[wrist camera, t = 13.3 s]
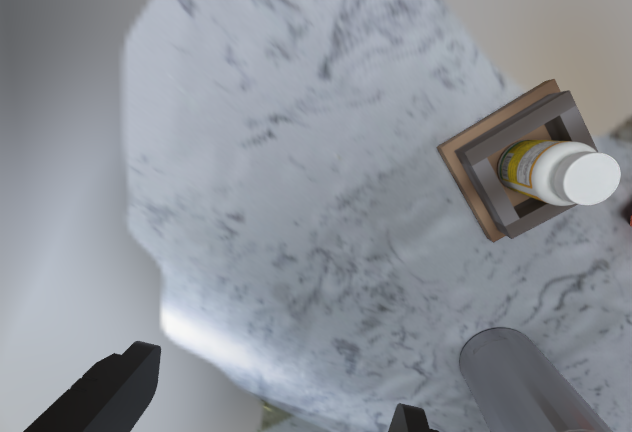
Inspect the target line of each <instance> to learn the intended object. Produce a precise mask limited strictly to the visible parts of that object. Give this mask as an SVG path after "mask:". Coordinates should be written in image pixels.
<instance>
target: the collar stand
mask: <svg viewBox="0 0 632 432" xmlns="http://www.w3.org/2000/svg"><path fill="white" fill-rule="evenodd" d="M522 140H551V141H572V142H580V143H583V144H586V145H588V146H590V147H592V148H593V149H594V150H595V151H596V152H598V151H597V149H596V146H595V144H594V142H593V140H592V138H591V136H590V134H589V131H588V129H587V127H586V125H585V123H584V121H583V119H582V116H581V114H580V112H579V110H578V108H577V106H576V104H575V101H574V99H573V97H572V95H571V93H570V91H563V92H560V89H559V87H558V85H557V83H556V81H555V79H552V80H548V81H545V82H543V83H541V84H540V85H538V86H536V87H535V88H533V89H531V90H530V91H528V92H527V93H525V94H523V95H522V96H520V97H518V98H517V99H515V100H513V101H512V102H510V103H508V104H507V105H505V106H504V107H502V108H500V109H499V110H497V111H495V112H494V113H492V114H490V115H489V116H487V117H485V118H484V119H482V120H480V121H479V122H477V123H476V124H474V125H472V126H471V127H469V128H467V129H466V130H464V131H462V132H461V133H459V134H457V135H456V136H454V137H453V138H451V139H449V140H448V141H446V142H444V143H443V144H441V145H439V146H438V147H437V149H438V151H439V153H440V154H441V156H442V158H443V160H444V161H445V163H446V165H447V167H448V169H449V170H450V172H451V174H452V176H453V178H454V179H455V181H456V183H457V185H458V186H459V188H460V190H461V192H462V194H463V195H464V197H465V199H466V201H467V202H468V204H469V206H470V208H471V210H472V211H473V213H474V215H475V217H476V219H477V220H478V222H479V224H480V226H481V227H482V229H483V231H484V233H485V235H486V236H487V238H488V239H489V240H491V241H492V242H495V241H497V240H499V239H501V238H503V237H504V236H508V237H509V238H511V239H513V238H514V237H516V236H518V235H520V234H522V233H524V232H526V231H528V230H530V229H532V228H534V227H535V226H537V225H539V224H541V223H543V222H545V221H547V220H549V219H551V218H553V217H555V216H556V215H558V214H560V213H562V212H564V211H566V210H568V209H570V208H572V207H574V206H576V205H577V204H573V205H567V206H557V205H552V204H549V203H546V202H543V201H540V200H538V199H535V198H532V197H529V196H527V195H524V194H521V193H518V192H515V191H513V190H511V189H509V188H507V187H506V186H505V185H504V184H503V183H502V182H501V180H500V178H499V175H498V163H499V160H500V158H501V156H502V154H503V153H504V151H505V150H506V149H507V148H508V147H510V146H511V145H513V144H514V143H516V142H519V141H522Z"/></svg>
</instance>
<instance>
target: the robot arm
mask: <svg viewBox="0 0 632 432" xmlns="http://www.w3.org/2000/svg"><path fill="white" fill-rule="evenodd" d="M160 355H161V347H160V346H158V345H154V344H149V343H145V342H141V341H136V342H134V343H133V344H132V345H131V346H130V347H129V348H128V349H127V350H126V351H125V352H124V353H123V354H122V355H119V354H115V353H114V354H112V355H110V356H108V357H106V358H104V359H102V360H101V361H99V362H97V363H96V364H94V365H93V366H92V367H91V368H90V369H89V370H88V371H87V372H86V373H85V374H84V375H83V377H82V378H80V379H79V380H77V381H76V382H75V383H74V384H73V385H72V386H71V388H70V389H68V390H67V391H66V392H65V393H64V394H63V395H62V396H61V397H59V398H58V399H57V400H56V401H55V402H54V403H53V404H52V405H51V406H50V407H49V408H48V409H47V410H46V411H45V412H44V413H42V414H41V415H40V416H39V417H38V418H37V419H36V420H35V421H34V422H33V423H32V424H31V425H30V426H29V427H28V428H27V429H26V430H24V431H23V432H130V431H131V430H132V428H133V427H134V425H135V424H136V422H137V421H138V420H139V418H140V416H141V415H142V414H143V412H144V411H145V409H146V408H147V407H148V405H149V403H150V402H151V400H152V398H153V396H154V394H155V391H156V388H157V383H158V374H159V364H160ZM460 369H461V372H462V375H463V377H464V379H465V381H466V383H467V385H468V387H469V389H470V391H471V393H472V395H473V397H474V399H475V401H476V403H477V405H478V407H479V409H480V411H481V413H482V415H483V417H484V419H485V421H486V423H487V425H488V427H489V429H490V431H491V432H613V431H612V430H611V429H610V428H609V427H608V425H607V424H606V423H605V422H604V421H603V420H602V419H601V418H600V417H599V415H598V414H597V413H596V412H595V411H594V410H593V409H592V408H591V407H590V406H589V404H588V403H587V402H586V401H585V400H584V399H583V398H582V397H581V396H580V395H579V393H578V392H577V391H576V390H575V389H574V388H573V387H572V386H571V385H570V383H569V382H568V381H567V380H566V379H565V378H564V377H563V376H562V375H561V374H560V372H559V371H558V370H557V369H556V368H555V367H554V366H553V365H552V364H551V362H550V361H549V360H548V359H547V358H546V357H545V356H544V355H543V354H542V353H541V351H540V350H539V349H538V348H537V347H536V346H535V345H534V344H533V343H532V342H531V341H530V339H529V338H528V337H526V336H525V335H523V334H522V333H520V332H518V331H515V330H512V329H507V328H496V329H490V330H487V331H484V332H481V333H479V334H478V335H476V336H474V337H473V338H472V339H471V340H470V341H469V342H468V343H467V344H466V345H465V347H464V348H463V350H462V353H461V356H460ZM388 432H439V431H437V430H433V429H429V425H428V422H427V419H426V415H425V412H424V410H423V409H422V408H418V407H414V406H410V405H405V404H401V403H399V404H398V405H397V407H396V410H395V413H394V416H393V419H392V422H391V425H390V428H389V431H388Z"/></svg>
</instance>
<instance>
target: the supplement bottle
mask: <svg viewBox="0 0 632 432" xmlns="http://www.w3.org/2000/svg"><path fill="white" fill-rule="evenodd" d="M498 175H499V178H500V180H501V182H502V183H503V184H504V185H505V186H506V187H507V188H509V189H511V190H513V191H515V192H518V193H521V194H524V195H527V196H529V197H532V198H535V199H538V200H540V201H543V202H546V203H549V204H552V205H557V206H567V205H573V204H579V205H594V204H597V203H600V202H602V201H604V200H605V199H607V198H608V197H609V196H610V195H612V193H613V192H614V191H615V190H616V188H617V186H618V184H619V181H620V176H621V173H620V167H619V165H618V163H617V162H616V161H615V159H613V158H612V157H611V156H609V155H607V154H604V153H599V152H596V151H595V150H594V149H593V148H592V147H590V146H588V145H586V144H583V143H580V142H572V141H551V140H522V141H519V142H516V143H514V144H513V145H511V146H510V147H508V148H507V149H506V150H505V151H504V153H503V154H502V156H501V158H500V160H499V163H498Z"/></svg>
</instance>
